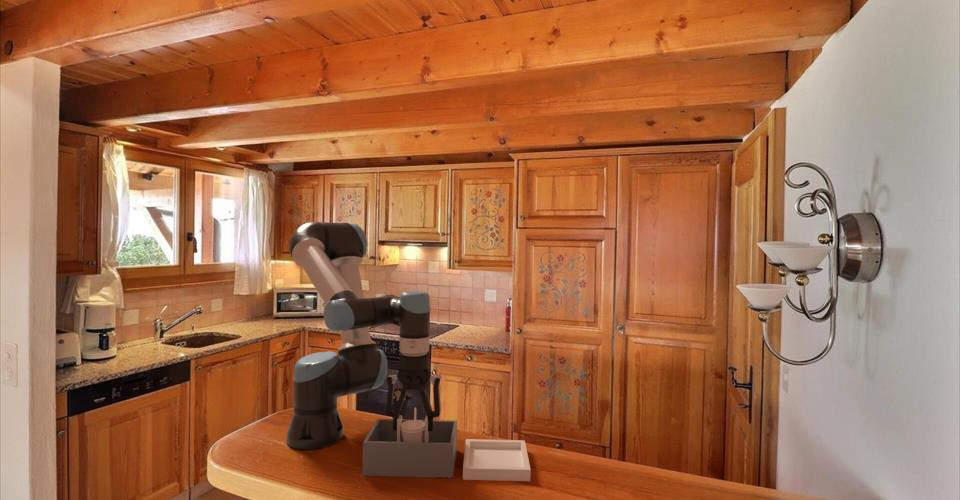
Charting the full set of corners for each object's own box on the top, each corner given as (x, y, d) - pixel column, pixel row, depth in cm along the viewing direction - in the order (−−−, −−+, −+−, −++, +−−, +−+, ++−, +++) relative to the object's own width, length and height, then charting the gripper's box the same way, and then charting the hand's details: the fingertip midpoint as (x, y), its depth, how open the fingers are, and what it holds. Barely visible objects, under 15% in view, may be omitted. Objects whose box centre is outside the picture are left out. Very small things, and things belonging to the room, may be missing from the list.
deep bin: (362, 475, 108) (363, 442, 108) (377, 448, 123) (377, 418, 123) (452, 477, 108) (453, 444, 108) (456, 449, 123) (457, 420, 122)
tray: (462, 479, 107) (462, 468, 107) (465, 448, 123) (465, 439, 123) (530, 481, 107) (530, 469, 107) (524, 450, 123) (524, 440, 123)
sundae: (382, 431, 134) (383, 381, 133) (401, 425, 139) (401, 376, 138) (396, 438, 129) (397, 386, 129) (414, 431, 134) (415, 381, 134)
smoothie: (420, 469, 112) (421, 413, 111) (395, 466, 113) (396, 410, 113) (428, 457, 118) (429, 404, 118) (405, 455, 119) (405, 402, 119)
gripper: (372, 355, 111) (371, 448, 112) (450, 357, 111) (449, 450, 111) (380, 348, 119) (378, 435, 119) (453, 350, 119) (451, 437, 119)
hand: (412, 442), depth 115 cm, fingers closed on smoothie, 6 cm apart
